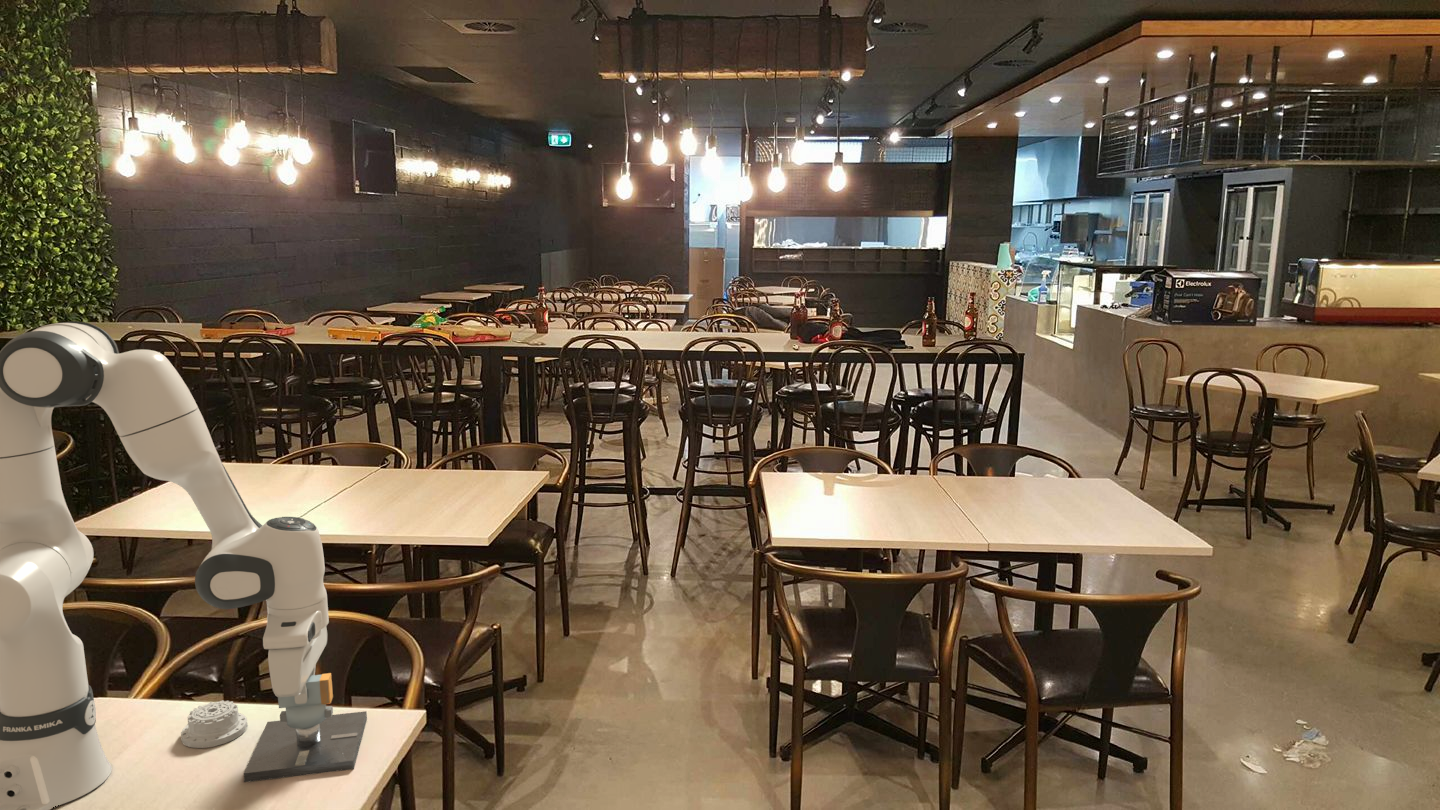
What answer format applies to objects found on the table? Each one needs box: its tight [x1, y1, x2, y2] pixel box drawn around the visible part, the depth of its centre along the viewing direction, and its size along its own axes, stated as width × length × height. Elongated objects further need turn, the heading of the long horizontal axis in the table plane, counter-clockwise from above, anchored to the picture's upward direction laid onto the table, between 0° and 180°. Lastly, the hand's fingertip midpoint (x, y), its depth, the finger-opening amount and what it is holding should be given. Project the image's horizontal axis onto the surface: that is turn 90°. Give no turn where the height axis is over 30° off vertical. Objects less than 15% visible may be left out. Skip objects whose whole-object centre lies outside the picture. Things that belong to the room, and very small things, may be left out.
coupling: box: [277, 672, 334, 729], centre depth 153 cm, size 8×6×7 cm
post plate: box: [243, 710, 368, 783], centre depth 154 cm, size 16×16×5 cm
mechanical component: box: [180, 700, 249, 749], centre depth 159 cm, size 10×4×10 cm
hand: (305, 696), depth 152 cm, fingers closed on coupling, 2 cm apart
